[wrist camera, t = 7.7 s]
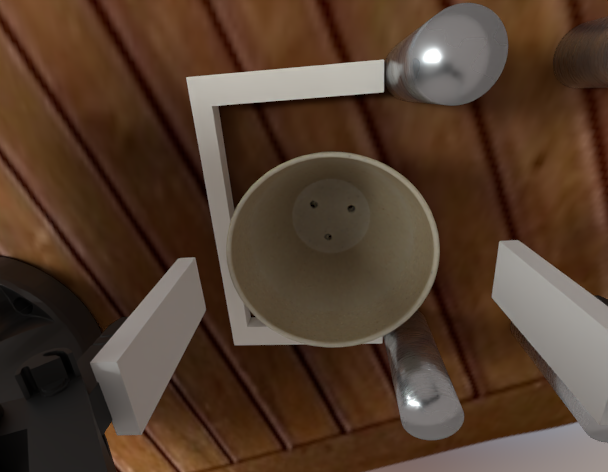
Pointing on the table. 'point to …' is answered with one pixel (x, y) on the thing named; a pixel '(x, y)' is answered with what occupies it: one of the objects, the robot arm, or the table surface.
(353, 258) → the flower pot
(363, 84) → the frame
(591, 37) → the spacers
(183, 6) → the table surface
